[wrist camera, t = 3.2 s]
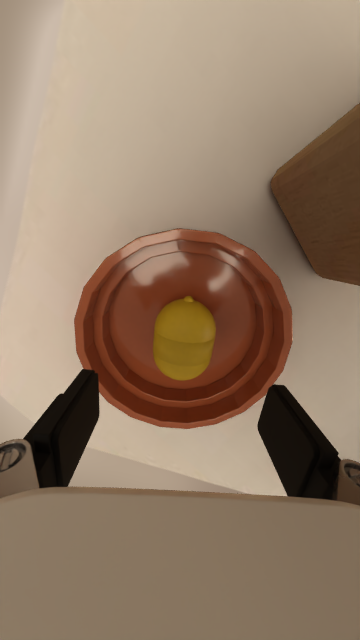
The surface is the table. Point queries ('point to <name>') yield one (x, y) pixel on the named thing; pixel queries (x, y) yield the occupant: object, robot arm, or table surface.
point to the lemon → (183, 339)
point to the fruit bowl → (169, 285)
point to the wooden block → (326, 199)
